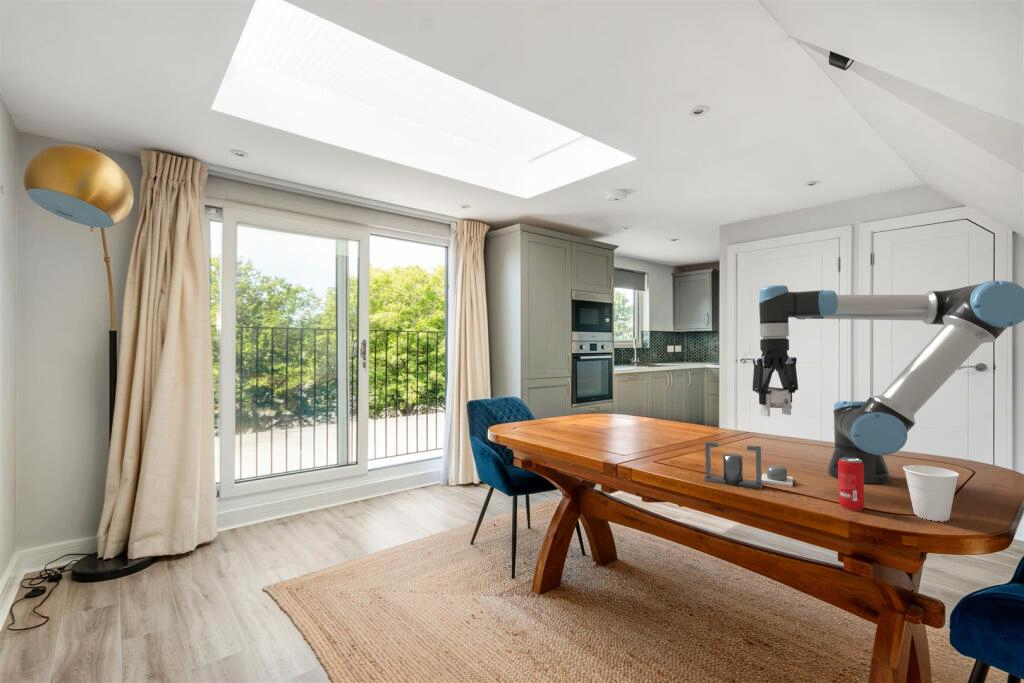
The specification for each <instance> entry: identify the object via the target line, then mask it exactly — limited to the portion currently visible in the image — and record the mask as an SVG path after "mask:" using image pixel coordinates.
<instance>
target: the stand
mask: <svg viewBox="0 0 1024 683" xmlns="http://www.w3.org/2000/svg"><path fill="white" fill-rule="evenodd" d="M793 478H794V477H793V476H788V468H787V467H786V466H780V465H767V466H766V473H762V482H763V484H768V485H774V486H776V485H777V486H784V487H792V488H793V484H794V483H793V482H794V479H793Z"/></svg>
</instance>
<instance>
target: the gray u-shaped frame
mask: <svg viewBox="0 0 1024 683" xmlns="http://www.w3.org/2000/svg"><path fill="white" fill-rule="evenodd" d="M704 445H705V447H704V448H705V450H704V451H705V476H704V481H705V482H712V483H717V484H718V483H719V484H725V485H728V486H736V487H737V486H741V487H748V488H758V489H763V485H764V483H763V482H762V474H763V473H762V446H757V445H756V446H755V445H747V446H746V450H747V451H752V452H753V451H754V452H755V471H756V472H755V473H756V474H755V475H756V477H755V480H753V479H745V478H744V472H743V471H744V467H743V466H744V462H743V458H744V457H743V455H741V454H737V453H725V454H722V459H723V460H722V464H723V469H722V471H723V472H722V473H723V476H722V475H713V474H712V448H718V447H719V446H720V444H719V442H714V441H705V444H704Z"/></svg>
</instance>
